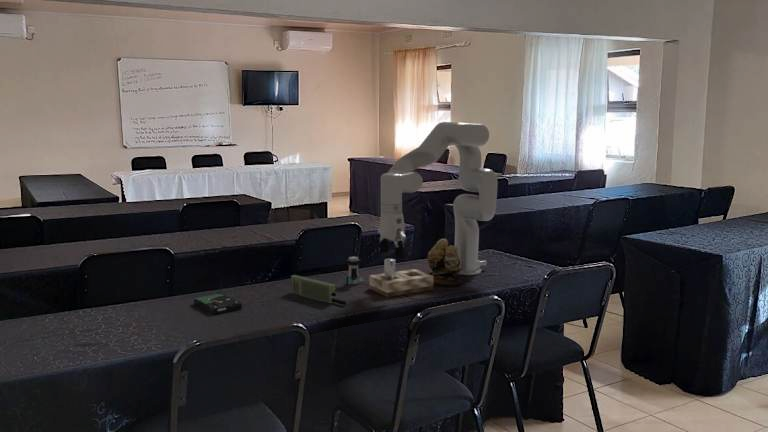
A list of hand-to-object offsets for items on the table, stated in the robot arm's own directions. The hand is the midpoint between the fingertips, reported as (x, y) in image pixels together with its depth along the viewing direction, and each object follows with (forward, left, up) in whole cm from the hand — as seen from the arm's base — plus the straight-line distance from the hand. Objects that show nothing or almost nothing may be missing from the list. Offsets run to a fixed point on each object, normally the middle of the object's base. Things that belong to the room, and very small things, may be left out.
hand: (391, 254), depth 239 cm
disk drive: (+60, -11, -14) cm, 63 cm away
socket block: (-4, 0, -13) cm, 14 cm away
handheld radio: (+28, -3, -14) cm, 31 cm away
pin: (+1, 0, -12) cm, 12 cm away
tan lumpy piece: (-24, -1, -14) cm, 28 cm away
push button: (+7, -15, -14) cm, 21 cm away
